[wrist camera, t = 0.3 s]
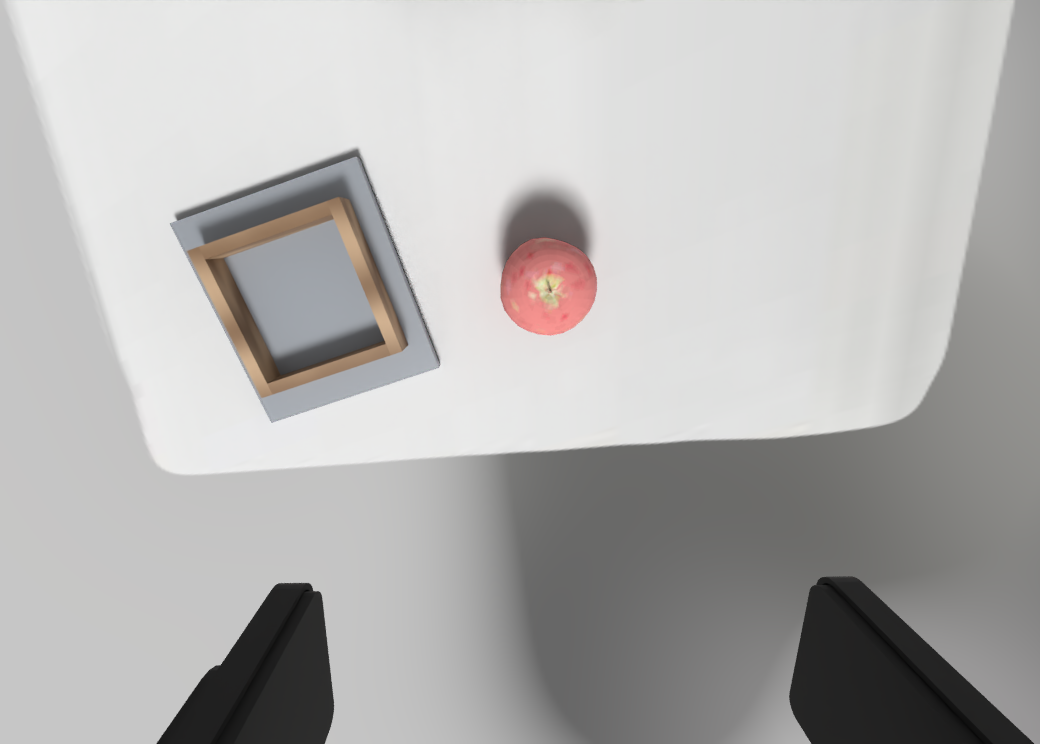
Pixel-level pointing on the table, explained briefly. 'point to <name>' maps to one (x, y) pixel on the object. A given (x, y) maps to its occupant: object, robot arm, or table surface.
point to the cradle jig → (309, 290)
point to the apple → (548, 286)
